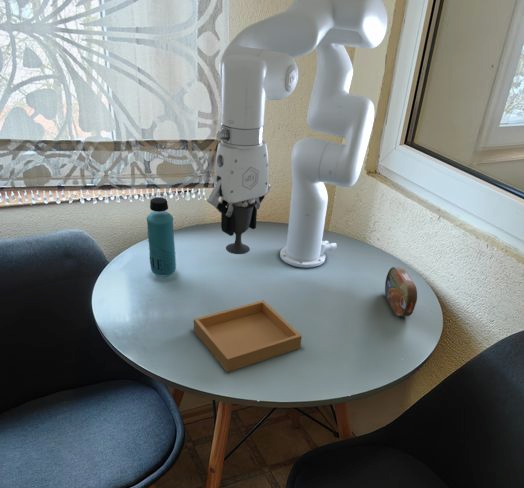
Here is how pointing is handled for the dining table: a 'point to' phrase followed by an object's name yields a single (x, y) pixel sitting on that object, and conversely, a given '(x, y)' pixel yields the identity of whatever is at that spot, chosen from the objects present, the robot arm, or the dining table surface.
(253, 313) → the tray
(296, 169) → the robot arm
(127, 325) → the dining table surface
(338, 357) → the dining table surface
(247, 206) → the sundae
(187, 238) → the dining table surface
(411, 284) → the tin
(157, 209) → the beverage bottle
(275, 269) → the dining table surface
